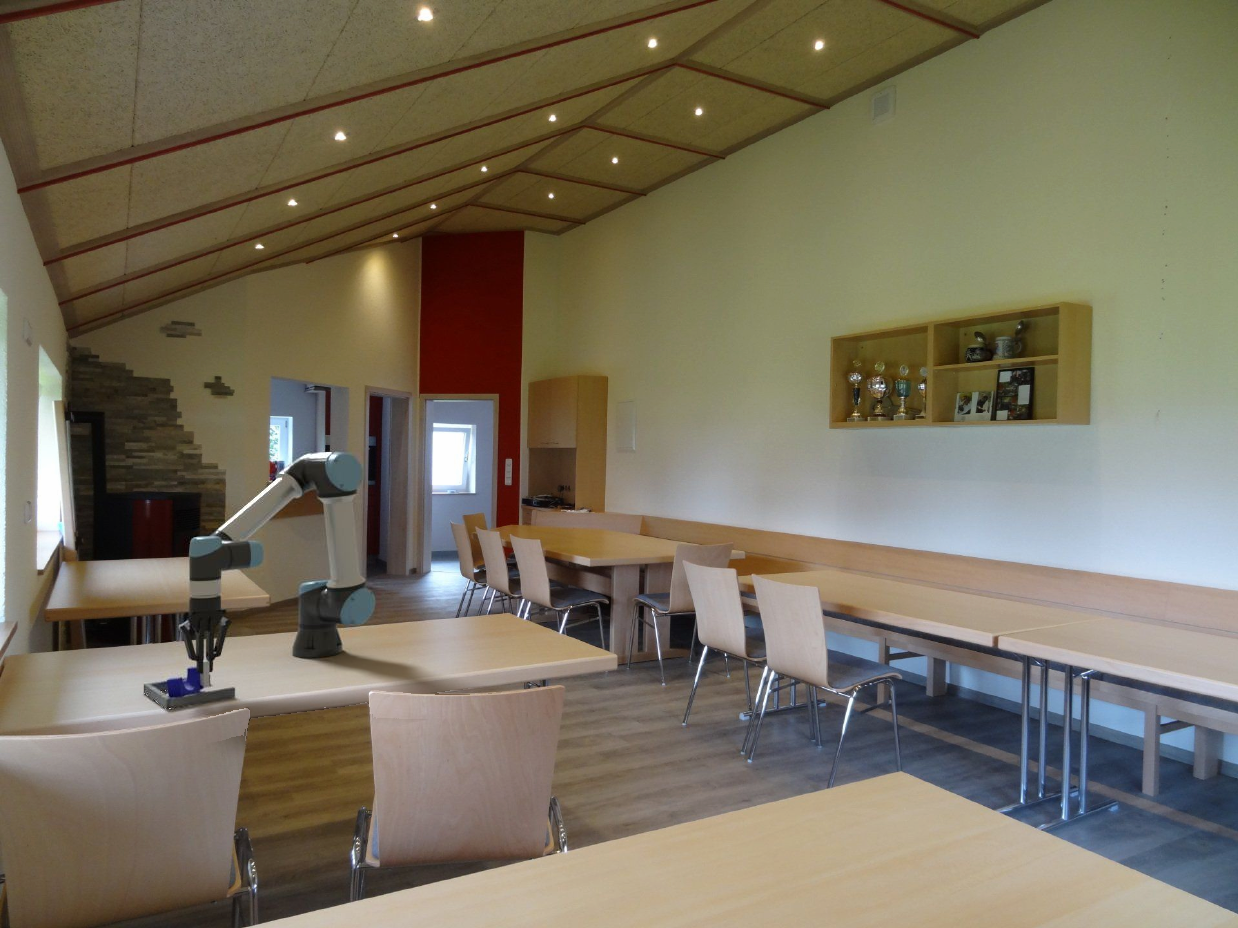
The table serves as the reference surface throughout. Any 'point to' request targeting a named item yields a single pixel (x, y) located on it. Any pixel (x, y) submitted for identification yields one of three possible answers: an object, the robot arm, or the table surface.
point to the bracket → (155, 693)
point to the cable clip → (185, 684)
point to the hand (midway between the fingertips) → (204, 685)
